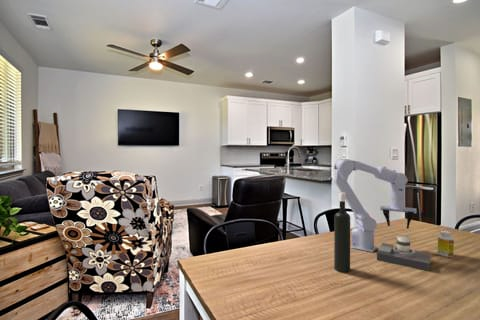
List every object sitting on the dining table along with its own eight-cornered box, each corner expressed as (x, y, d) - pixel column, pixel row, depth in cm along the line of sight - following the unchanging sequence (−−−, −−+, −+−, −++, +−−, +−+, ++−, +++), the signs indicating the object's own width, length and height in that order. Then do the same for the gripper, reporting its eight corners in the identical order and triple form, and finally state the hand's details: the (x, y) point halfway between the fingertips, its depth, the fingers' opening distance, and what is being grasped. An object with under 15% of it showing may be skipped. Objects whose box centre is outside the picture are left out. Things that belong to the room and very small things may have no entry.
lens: (395, 253, 109) (395, 237, 109) (398, 250, 113) (398, 234, 113) (409, 256, 106) (409, 239, 106) (411, 253, 110) (411, 236, 110)
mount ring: (391, 254, 109) (391, 250, 109) (394, 248, 115) (394, 245, 115) (414, 258, 104) (414, 254, 104) (415, 252, 110) (415, 249, 110)
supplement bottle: (450, 258, 112) (451, 234, 111) (435, 254, 116) (435, 231, 116) (455, 255, 115) (455, 232, 115) (440, 251, 119) (440, 229, 119)
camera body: (376, 259, 111) (377, 250, 110) (382, 251, 120) (382, 242, 120) (429, 271, 100) (429, 260, 99) (430, 261, 109) (430, 251, 109)
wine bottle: (349, 267, 104) (349, 191, 103) (350, 273, 98) (351, 193, 97) (334, 265, 105) (334, 191, 105) (334, 271, 100) (334, 193, 99)
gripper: (379, 198, 124) (379, 226, 124) (416, 200, 115) (416, 231, 116) (381, 196, 129) (381, 223, 130) (416, 198, 121) (416, 227, 122)
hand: (398, 226), depth 123 cm, fingers open, 7 cm apart
